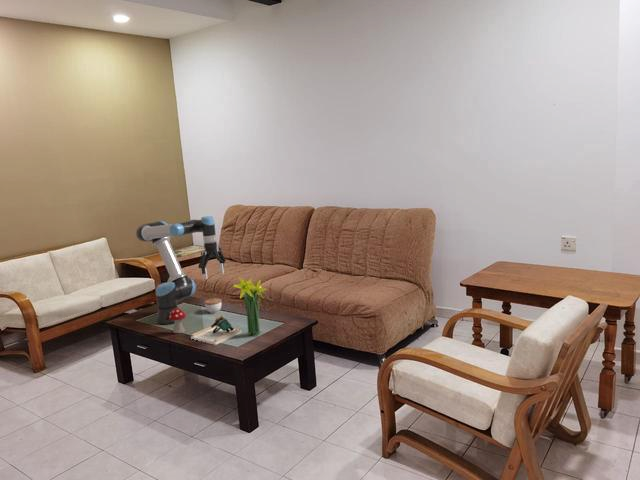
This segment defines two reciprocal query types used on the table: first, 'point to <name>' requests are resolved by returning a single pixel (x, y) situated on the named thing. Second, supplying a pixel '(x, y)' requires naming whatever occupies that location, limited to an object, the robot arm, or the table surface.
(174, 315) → the decorative mushroom
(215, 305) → the lidded jar
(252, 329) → the daffodil flowers
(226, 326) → the binoculars
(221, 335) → the display riser
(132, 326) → the table surface
